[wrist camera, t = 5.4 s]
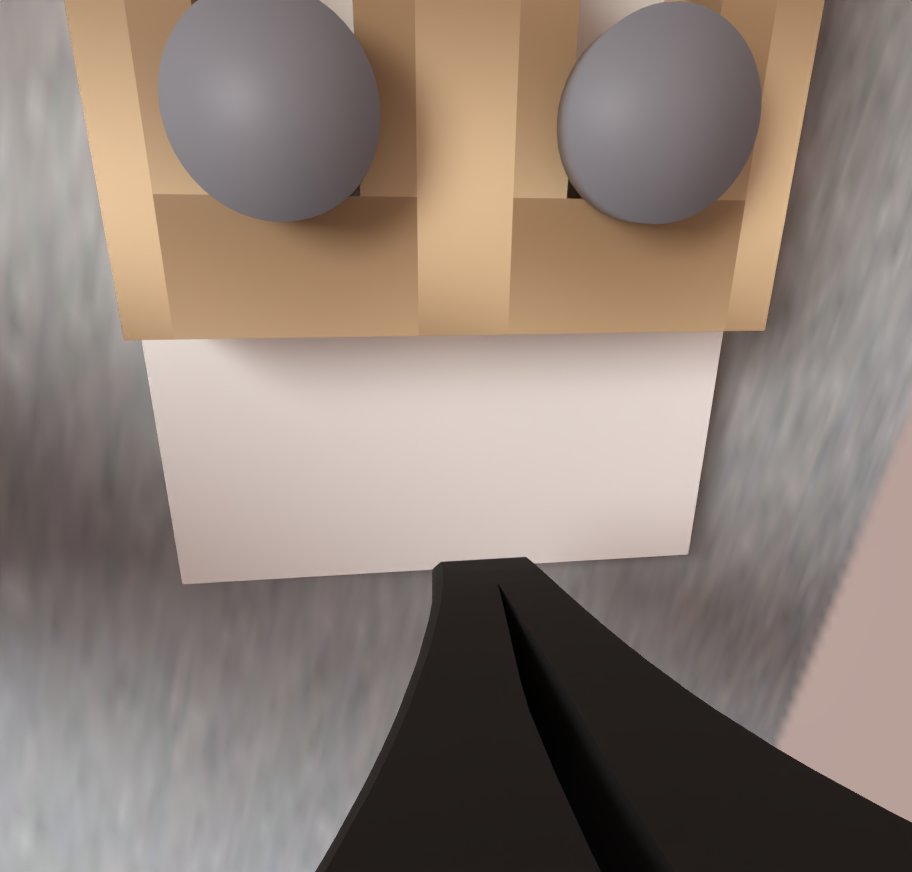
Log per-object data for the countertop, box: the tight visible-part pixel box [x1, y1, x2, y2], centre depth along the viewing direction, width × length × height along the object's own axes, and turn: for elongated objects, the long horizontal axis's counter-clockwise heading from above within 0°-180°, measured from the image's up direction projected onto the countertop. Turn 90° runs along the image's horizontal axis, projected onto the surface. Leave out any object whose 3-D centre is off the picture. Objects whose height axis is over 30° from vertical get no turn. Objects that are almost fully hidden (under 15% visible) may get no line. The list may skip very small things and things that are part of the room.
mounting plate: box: [142, 0, 762, 584], centre depth 10 cm, size 17×11×4 cm, turn 179°
